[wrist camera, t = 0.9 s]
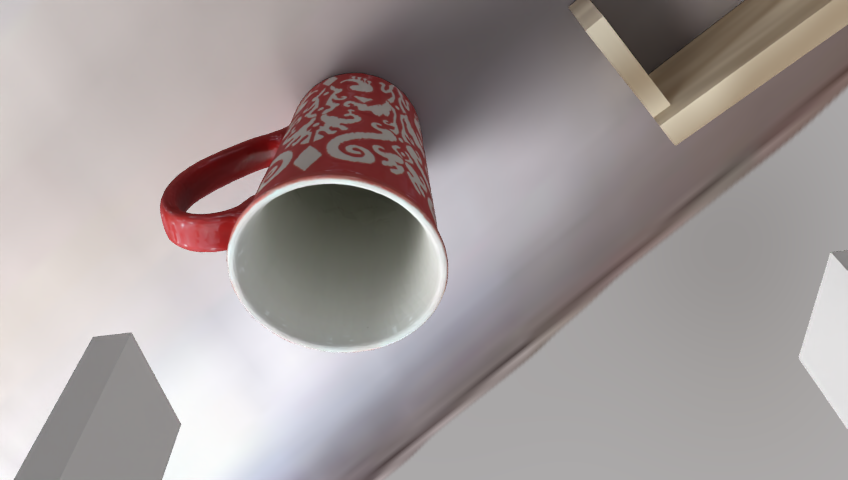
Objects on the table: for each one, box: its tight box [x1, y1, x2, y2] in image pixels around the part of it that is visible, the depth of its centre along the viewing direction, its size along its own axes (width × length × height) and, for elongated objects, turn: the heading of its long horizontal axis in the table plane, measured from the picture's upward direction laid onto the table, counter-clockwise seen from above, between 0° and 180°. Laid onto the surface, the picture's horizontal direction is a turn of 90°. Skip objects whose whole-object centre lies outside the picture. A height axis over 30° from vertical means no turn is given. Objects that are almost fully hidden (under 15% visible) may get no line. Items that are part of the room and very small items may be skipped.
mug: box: [160, 73, 448, 353], centre depth 31 cm, size 13×9×14 cm
